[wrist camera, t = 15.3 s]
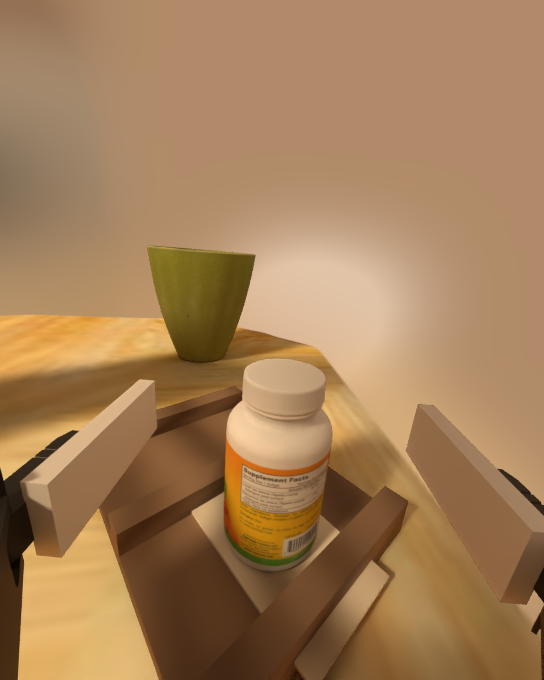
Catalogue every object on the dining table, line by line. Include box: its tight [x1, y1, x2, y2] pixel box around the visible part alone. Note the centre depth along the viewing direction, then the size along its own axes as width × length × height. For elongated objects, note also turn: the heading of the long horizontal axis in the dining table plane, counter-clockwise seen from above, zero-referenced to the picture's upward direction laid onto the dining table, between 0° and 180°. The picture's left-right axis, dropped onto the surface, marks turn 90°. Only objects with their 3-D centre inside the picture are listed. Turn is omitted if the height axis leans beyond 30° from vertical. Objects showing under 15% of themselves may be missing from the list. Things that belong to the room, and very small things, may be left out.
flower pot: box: [147, 246, 255, 362], centre depth 42 cm, size 15×15×16 cm
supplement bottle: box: [224, 358, 332, 572], centre depth 15 cm, size 5×5×10 cm
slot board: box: [99, 386, 408, 680], centre depth 19 cm, size 14×20×2 cm
